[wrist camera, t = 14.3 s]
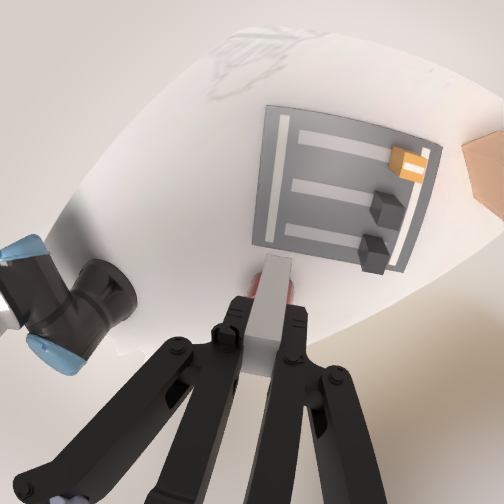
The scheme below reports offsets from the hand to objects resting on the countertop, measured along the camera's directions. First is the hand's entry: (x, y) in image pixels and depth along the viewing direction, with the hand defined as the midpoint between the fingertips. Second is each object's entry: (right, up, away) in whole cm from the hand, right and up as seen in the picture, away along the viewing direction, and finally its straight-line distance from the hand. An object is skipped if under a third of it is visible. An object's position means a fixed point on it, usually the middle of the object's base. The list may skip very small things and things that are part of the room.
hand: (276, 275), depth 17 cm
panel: (+11, +9, +19) cm, 24 cm away
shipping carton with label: (+17, +13, +13) cm, 25 cm away
